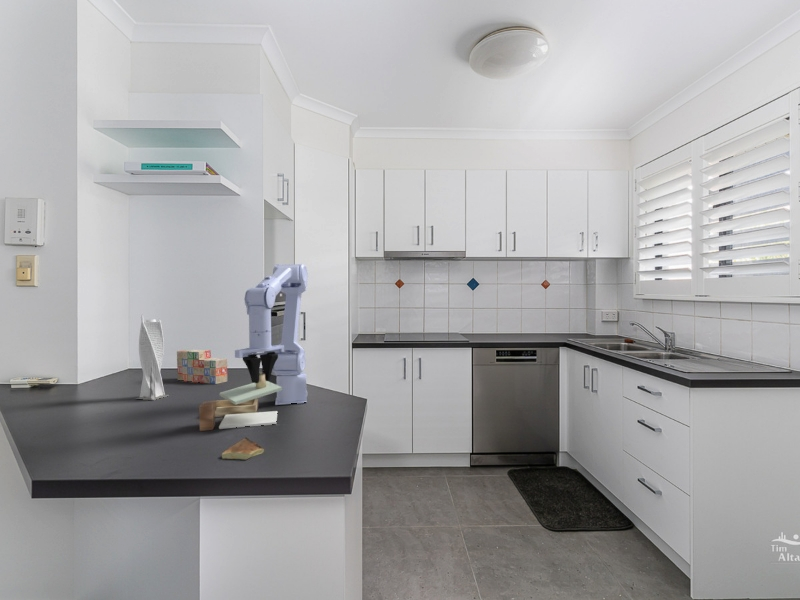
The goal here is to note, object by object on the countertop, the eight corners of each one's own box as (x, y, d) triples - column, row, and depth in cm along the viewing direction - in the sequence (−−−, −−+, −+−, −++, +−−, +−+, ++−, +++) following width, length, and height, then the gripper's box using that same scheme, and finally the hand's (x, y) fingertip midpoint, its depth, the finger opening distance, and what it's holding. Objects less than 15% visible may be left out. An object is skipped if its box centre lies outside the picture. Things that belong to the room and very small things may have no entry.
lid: (264, 382, 129) (263, 367, 129) (282, 390, 122) (280, 374, 121) (219, 395, 121) (217, 380, 120) (235, 404, 113) (233, 388, 113)
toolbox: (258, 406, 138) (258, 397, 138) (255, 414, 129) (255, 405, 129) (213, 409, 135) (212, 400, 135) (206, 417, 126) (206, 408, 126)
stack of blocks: (228, 381, 180) (227, 350, 180) (215, 384, 175) (215, 352, 174) (189, 378, 189) (189, 348, 189) (176, 380, 184) (176, 350, 183)
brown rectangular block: (216, 422, 120) (216, 400, 120) (212, 429, 114) (212, 406, 114) (204, 423, 120) (204, 400, 120) (199, 430, 113) (199, 406, 113)
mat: (277, 413, 130) (277, 411, 130) (276, 424, 118) (276, 422, 118) (225, 416, 126) (225, 414, 126) (219, 428, 115) (219, 426, 115)
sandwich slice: (245, 443, 104) (245, 435, 104) (277, 444, 103) (276, 437, 103) (220, 460, 94) (219, 451, 94) (254, 462, 92) (254, 453, 92)
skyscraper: (131, 399, 149) (130, 315, 149) (150, 394, 157) (149, 314, 157) (153, 400, 147) (151, 315, 147) (171, 395, 155) (169, 314, 155)
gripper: (272, 329, 131) (273, 376, 131) (227, 332, 119) (228, 384, 119) (288, 330, 127) (289, 378, 127) (243, 333, 115) (244, 387, 115)
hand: (261, 381), depth 123 cm, fingers closed on lid, 3 cm apart
